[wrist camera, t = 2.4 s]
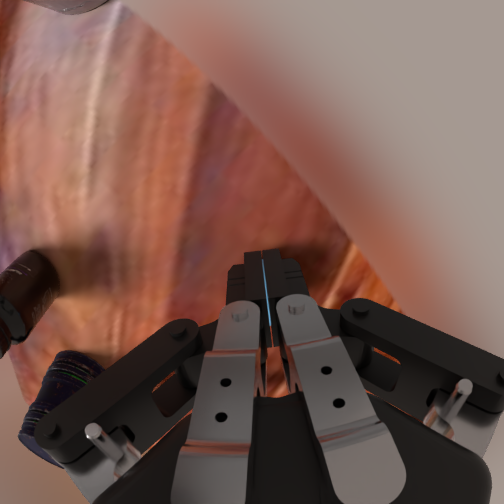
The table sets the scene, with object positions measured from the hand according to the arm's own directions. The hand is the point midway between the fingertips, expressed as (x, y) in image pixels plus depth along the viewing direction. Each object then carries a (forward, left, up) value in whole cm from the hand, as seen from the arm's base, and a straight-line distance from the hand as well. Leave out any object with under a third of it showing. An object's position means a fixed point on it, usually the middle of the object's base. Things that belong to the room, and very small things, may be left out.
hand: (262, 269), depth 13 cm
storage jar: (+23, -28, -14) cm, 39 cm away
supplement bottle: (+6, -26, -14) cm, 30 cm away
